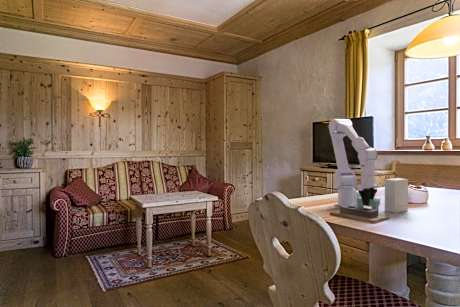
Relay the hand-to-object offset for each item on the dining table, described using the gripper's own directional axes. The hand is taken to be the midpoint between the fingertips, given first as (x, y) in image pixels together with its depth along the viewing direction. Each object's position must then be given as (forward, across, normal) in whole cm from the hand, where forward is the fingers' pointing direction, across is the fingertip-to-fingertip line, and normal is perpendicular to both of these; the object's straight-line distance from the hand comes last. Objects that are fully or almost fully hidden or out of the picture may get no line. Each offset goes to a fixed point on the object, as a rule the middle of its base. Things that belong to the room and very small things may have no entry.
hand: (367, 205), depth 141 cm
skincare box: (+3, +12, -7) cm, 14 cm away
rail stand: (+3, -11, -2) cm, 12 cm away
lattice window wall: (+3, +20, +11) cm, 23 cm away
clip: (+3, 0, 0) cm, 3 cm away
